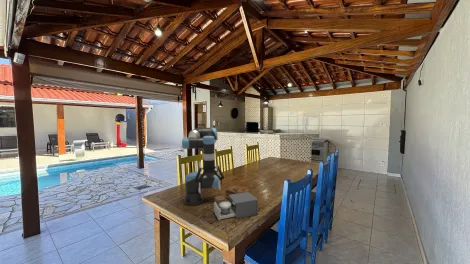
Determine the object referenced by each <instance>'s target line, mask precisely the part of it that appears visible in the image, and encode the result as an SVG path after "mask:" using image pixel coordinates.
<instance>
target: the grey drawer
mask: <svg viewBox="0 0 470 264" xmlns="http://www.w3.org/2000/svg"><path fill="white" fill-rule="evenodd" d="M213 212H214V214H215V216H216V218H217V220H218V221H221V220H223V219H229V218H234V217H235V218H236V208H235V206H232V207H230V208H228V209H222V208H219V207H218V205H217V204H216V202H215V201H214V202H213Z"/></svg>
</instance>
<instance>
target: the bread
mask: <svg viewBox="0 0 470 264" xmlns="http://www.w3.org/2000/svg"><path fill="white" fill-rule="evenodd" d="M224 192H225V193H224V195H225V199H228V200H229V195H232V194H238V193H245V192H249V193H250V194H251V191H250V190H249V189H248V188H245V187H243V186H242V187H241V186H237V185H234V184H233V185H229V186H227V187H226V188H225V191H224Z"/></svg>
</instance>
